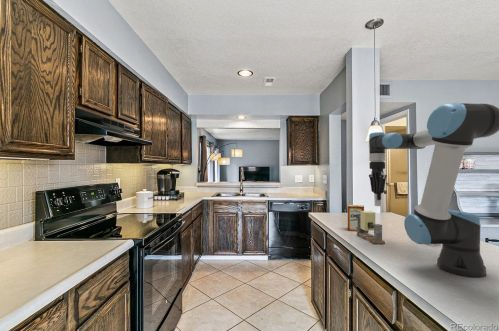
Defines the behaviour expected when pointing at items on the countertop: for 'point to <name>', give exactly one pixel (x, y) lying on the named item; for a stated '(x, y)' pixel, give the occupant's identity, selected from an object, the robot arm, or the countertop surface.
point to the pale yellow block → (367, 220)
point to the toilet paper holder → (365, 235)
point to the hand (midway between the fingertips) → (377, 205)
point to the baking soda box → (354, 216)
